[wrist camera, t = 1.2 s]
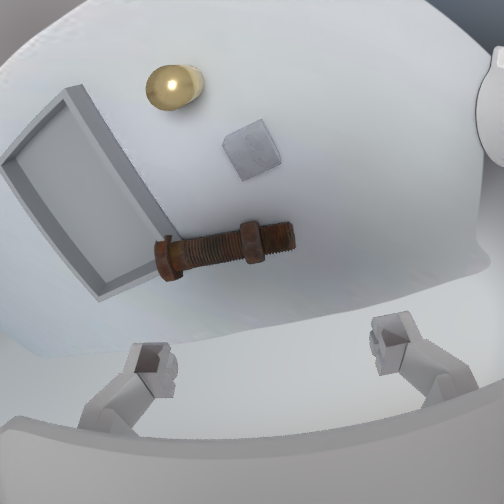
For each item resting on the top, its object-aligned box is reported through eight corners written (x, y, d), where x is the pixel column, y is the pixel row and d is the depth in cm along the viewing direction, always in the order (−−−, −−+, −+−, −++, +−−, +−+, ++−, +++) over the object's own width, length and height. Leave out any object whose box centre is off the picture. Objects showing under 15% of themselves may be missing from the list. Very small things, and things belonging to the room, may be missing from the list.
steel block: (261, 118, 30) (261, 125, 27) (278, 152, 32) (281, 163, 29) (226, 135, 31) (222, 145, 28) (244, 168, 33) (242, 181, 30)
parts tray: (81, 84, 27) (64, 88, 24) (188, 247, 38) (182, 265, 35) (11, 154, 31) (-5, 164, 28) (107, 286, 42) (98, 302, 39)
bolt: (290, 224, 38) (171, 246, 39) (287, 200, 33) (154, 226, 35) (299, 269, 35) (171, 290, 37) (297, 248, 31) (152, 273, 32)
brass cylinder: (192, 57, 26) (177, 56, 21) (211, 90, 28) (201, 95, 23) (158, 78, 27) (137, 81, 22) (177, 109, 29) (160, 119, 24)
